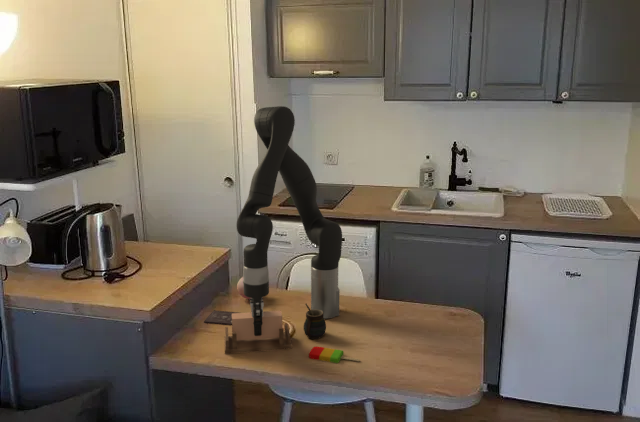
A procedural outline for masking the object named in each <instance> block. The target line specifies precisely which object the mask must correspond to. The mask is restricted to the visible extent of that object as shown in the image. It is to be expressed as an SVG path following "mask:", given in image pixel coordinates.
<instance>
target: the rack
mask: <svg viewBox="0 0 640 422" xmlns="http://www.w3.org/2000/svg"><path fill="white" fill-rule="evenodd" d="M224 330H225V336H224V354H225V355H227V354H239V353H252V352H267V351H269V352H270V351H280V350H282V351H283V350H292V348H293V344H292V341H291V340H292V339H291V333H290V329H289V326H288V323H287V322H286V323H284V328H283V327H282V329H279V337H277V338H263V339H249V340H237V337H236V332H232V331H231V335H229V327H228V326H226V327H225V328H224Z"/></svg>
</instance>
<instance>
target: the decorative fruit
mask: <svg viewBox="0 0 640 422" xmlns="http://www.w3.org/2000/svg"><path fill="white" fill-rule="evenodd" d="M236 288H237V292H238V293H239V295H240V296H241V297H242V298H244V299H245V300H250V298H249V297H247V296H245V295H244V283H243V276H242V277H241V278H239V280H238V282H237V285H236Z"/></svg>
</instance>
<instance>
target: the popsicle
mask: <svg viewBox="0 0 640 422" xmlns="http://www.w3.org/2000/svg"><path fill="white" fill-rule="evenodd" d="M344 354H345V353H344V350H342V349H336V348H329V347H324V346H323V347H322V346H313V347H312V348H311V350H310V351H309V353H308V355H309V356H308V357H309V359H311V360H317V361H322V362H327V363H328V362H329V363H335V364H338V363H340V361H341V360H347V361H353V362H361V359H360V358H353V357H350V356H349V357H347V356H344Z"/></svg>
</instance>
